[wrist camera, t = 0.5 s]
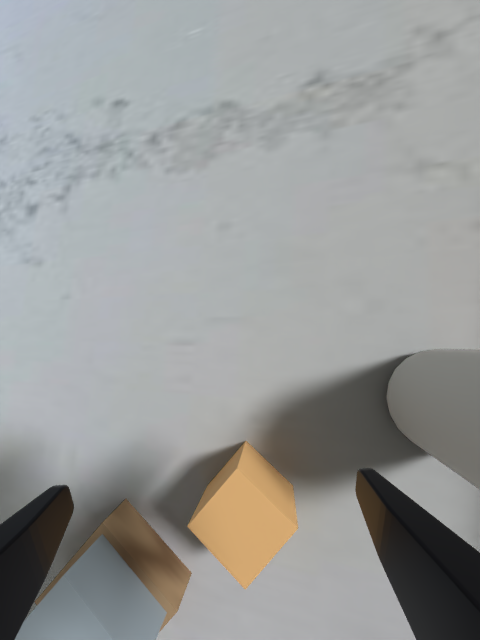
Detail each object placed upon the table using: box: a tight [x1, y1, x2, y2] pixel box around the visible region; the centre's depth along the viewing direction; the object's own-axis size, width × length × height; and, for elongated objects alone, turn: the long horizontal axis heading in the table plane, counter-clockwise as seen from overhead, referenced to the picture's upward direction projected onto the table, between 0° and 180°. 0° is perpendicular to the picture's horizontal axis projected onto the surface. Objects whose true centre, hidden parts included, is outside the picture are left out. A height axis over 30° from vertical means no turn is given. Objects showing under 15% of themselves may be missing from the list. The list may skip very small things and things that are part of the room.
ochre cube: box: [187, 441, 298, 589], centre depth 19 cm, size 5×5×5 cm
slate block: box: [15, 534, 167, 640], centre depth 17 cm, size 7×7×4 cm
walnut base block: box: [35, 499, 192, 632], centre depth 20 cm, size 8×8×4 cm
